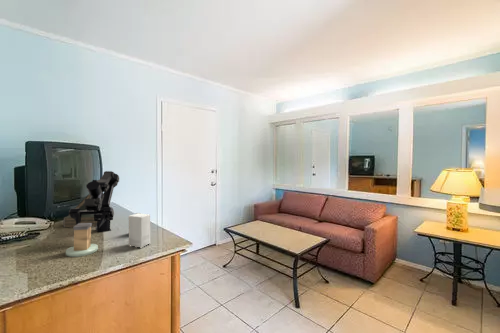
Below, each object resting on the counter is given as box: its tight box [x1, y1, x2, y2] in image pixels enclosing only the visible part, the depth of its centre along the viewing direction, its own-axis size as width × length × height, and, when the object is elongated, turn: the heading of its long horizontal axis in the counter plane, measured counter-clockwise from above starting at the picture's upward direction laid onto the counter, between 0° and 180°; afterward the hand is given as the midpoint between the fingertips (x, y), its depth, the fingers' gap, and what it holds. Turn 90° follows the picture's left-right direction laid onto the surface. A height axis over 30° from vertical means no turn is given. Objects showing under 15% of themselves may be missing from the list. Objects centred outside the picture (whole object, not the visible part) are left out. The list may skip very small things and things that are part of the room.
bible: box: [62, 193, 97, 228], centre depth 154 cm, size 23×20×25 cm
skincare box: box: [128, 212, 151, 248], centre depth 116 cm, size 8×7×16 cm
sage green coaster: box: [65, 243, 99, 258], centre depth 107 cm, size 12×12×2 cm
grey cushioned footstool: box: [72, 223, 93, 251], centre depth 106 cm, size 5×5×11 cm
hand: (88, 227), depth 113 cm, fingers open, 9 cm apart
